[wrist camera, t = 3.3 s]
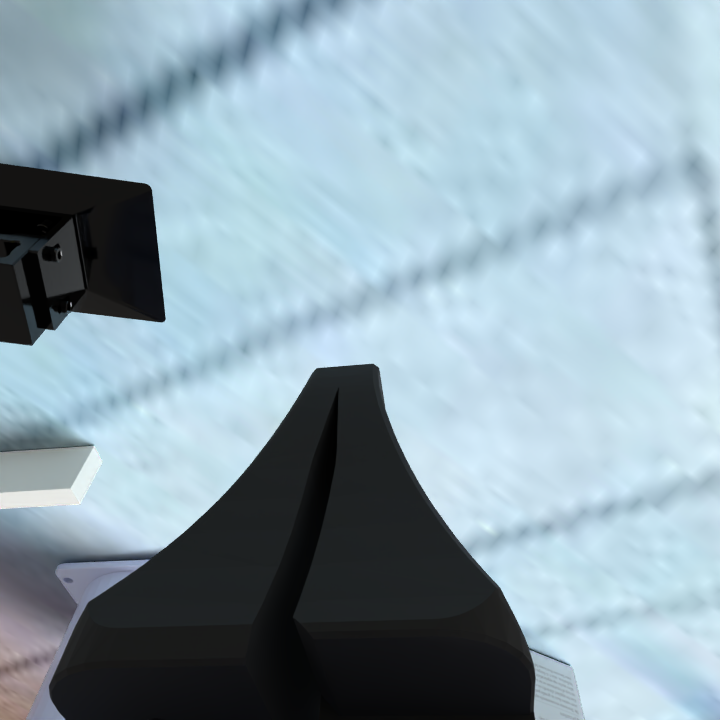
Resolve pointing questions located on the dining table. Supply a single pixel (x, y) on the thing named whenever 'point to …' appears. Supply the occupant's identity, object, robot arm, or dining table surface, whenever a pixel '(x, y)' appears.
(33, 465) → the walled lane
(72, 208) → the black boxy piece
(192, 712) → the robot arm
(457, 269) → the dining table surface
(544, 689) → the skincare box
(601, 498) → the dining table surface
